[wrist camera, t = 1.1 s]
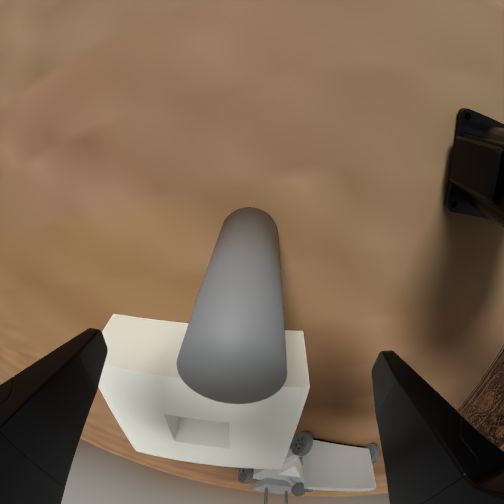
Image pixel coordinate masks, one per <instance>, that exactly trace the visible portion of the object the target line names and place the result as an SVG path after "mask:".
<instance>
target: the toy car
mask: <svg viewBox="0 0 504 504" xmlns="http://www.w3.org/2000/svg"><path fill="white" fill-rule="evenodd" d="M378 456H379V447H378V445H377V444H375V443H370V444H369V445H367V446H366V447H364V448H360V447H353V446H346V445H340V444H333V443H328V442H322V441H317V440H313V436H312V434H311V433H310V432H307V431H303V432H301V433H300V434H299V435H297V436H295V437H294V438H293V439H292V442H291V449H289V450H288V453H287V455H286V458H285V461H284V463H283V466H282V468H281V469H254V468H241V469H240V471H239V475H238V479H239V481H240V482H241V483H245V484H247V483H249V482H250V481H251V480H252V478H253V479H258V480H259V481H257V482H255V483H252V484H251V490H257V491H263V492H265V497H264V504H267V494H268V492H270V493H278V494H285V504H288V499H287V498H288V493H291V492H292V493H293V494H294V495H295V496H300V495H303V494H304V493H305V492H311V491H313V490H326V491H371V490H374V489H376V482H375V477H374V471H373V466H372V463H374V462H375V461H376V460H377V458H378Z"/></svg>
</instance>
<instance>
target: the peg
mask: <svg viewBox="0 0 504 504" xmlns="http://www.w3.org/2000/svg"><path fill="white" fill-rule="evenodd" d="M177 370H178V373H179V375H180V377H181V379H182V380H183V382H184V383H185V384H186V385H187V386H188V387H189V388H191V389H192V390H193V391H195V392H196V393H198V394H200V395H202V396H204V397H206V398H208V399H211V400H214V401H218V402H222V403H229V404H248V403H254V402H258V401H262V400H264V399H267V398H269V397H271V396H273V395H274V394H275V393H277V392H278V391H279V390H280V389H281V388H282V387H283V385H284V383H285V381H286V378H287V359H286V341H285V324H284V309H283V294H282V280H281V267H280V254H279V241H278V230H277V226H276V224H275V222H274V220H273V219H272V217H271V216H270V215H269V214H267V213H266V212H264V211H262V210H260V209H257V208H251V207H247V208H241V209H238V210H236V211H234V212H232V213H231V214H230V215H229V216H228V217H227V218H226V220H225V221H224V223H223V226H222V229H221V231H220V234H219V237H218V240H217V243H216V245H215V248H214V251H213V254H212V257H211V259H210V262H209V265H208V268H207V271H206V274H205V276H204V279H203V282H202V285H201V288H200V291H199V294H198V297H197V300H196V303H195V306H194V309H193V312H192V315H191V318H190V321H189V324H188V327H187V330H186V333H185V336H184V339H183V342H182V345H181V348H180V352H179V355H178V358H177Z"/></svg>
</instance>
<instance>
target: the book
mask: <svg viewBox="0 0 504 504" xmlns="http://www.w3.org/2000/svg"><path fill="white" fill-rule="evenodd" d="M458 413H460V415H461V416H463V417H464V418H465V419H466V420H467V421H468V422H469V423H470V424H471V425H472V426H473V427H474V428H475V429H477V430H478V431H479V432H480V433H481V434H482V435H484V436H485V437H486V438H487V439H488V440H490V441H491V442H492V443H493V444H495V445H496V446H497V447H499V448H500V449H501V450H502V451H504V347H503V348H502V350H501V352H500V353H499V355H498V356H497V358H496V360H495V361H494V363H493V364H492V366H491V367H490V369H489V370H488V372H487V373H486V375H485V376H484V377H483V379H482V380H481V382H480V383H479V384H478V386H477V387H476V388H475V390H474V391H473V392H472V394H471V395H470V396H469V398H468V399H467V400H466V401H465V403H464V404H463V405H462V407H461V408H460V409H459V411H458Z"/></svg>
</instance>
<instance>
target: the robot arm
mask: <svg viewBox="0 0 504 504" xmlns="http://www.w3.org/2000/svg"><path fill="white" fill-rule="evenodd" d="M465 113H466V115H467V119H465ZM453 200H454V203H453V205H451V202H452V201H453ZM444 204H445V207H446V208H447V209H448V210H450V211H452V212H457V213H462V214H468V215H474V216H479V217H484V218H489V219H493V220H494V221H496V222H497V223H499V224H500V225H502V226H503V227H504V124H502V123H500V122H498V121H495V120H493V119H491V118H489V117H487V116H484V115H482V114H480V113H477V112H475V111H472V110H470V109H465V108H462V109H460V110H459V112H458V119H457V129H456V138H455V142H454V150H453V157H452V163H451V169H450V175H449V182H448V187H447V192H446V197H445V203H444ZM107 352H108V349H107V345H106V342H105V339H104V336H103V334H102V332H101V330H99V329H94V328H89V329H87V330H86V331H84V332H82V333H81V334H79V335H78V336H76V337H74V338H73V339H71V340H70V341H68V342H66V343H65V344H63V345H62V346H60V347H59V348H57V349H55V350H54V351H52V352H51V353H49V354H48V355H46V356H45V357H43V358H41V359H40V360H38V361H37V362H35V363H34V364H32V365H31V366H29V367H27V368H26V369H24V370H23V371H21V372H20V373H18V374H17V375H15V376H14V377H12V378H11V379H9V380H7V381H6V382H4V383H3V384H1V385H0V504H61V501H62V497H63V493H64V489H65V485H66V481H67V478H68V474H69V471H70V468H71V464H72V461H73V458H74V455H75V451H76V448H77V445H78V442H79V439H80V436H81V433H82V430H83V428H84V425H85V422H86V419H87V416H88V413H89V411H90V408H91V405H92V403H93V400H94V397H95V395H96V392H97V389H98V385H99V382H100V378H101V374H102V370H103V367H104V363H105V360H106V356H107ZM372 380H373V390H374V401H375V412H376V419H377V424H378V429H379V435H380V440H381V446H382V452H383V458H384V464H385V471H386V478H387V485H388V493H389V501H390V504H504V451H502V450H501V449H500V448H499V447H497V446H496V445H495V444H493V443H492V442H491V441H490V440H488V439H487V438H486V437H485V436H484V435H482V434H481V433H480V432H479V431H478V430H477V429H475V428H474V427H473V426H472V425H471V424H470V423H469V422H468V421H467V420H466V419H465V418H464V417H463V416H461V415H460V413H458V412H457V411H456V410H455V409H454V408H453V407H452V406H451V405H450V404H449V403H448V402H447V401H446V400H445V399H444V398H443V397H442V396H441V395H440V394H439V393H438V392H436V391H435V390H434V389H433V388H432V387H431V386H430V385H429V384H428V383H427V382H426V381H425V380H424V379H423V378H422V377H421V376H419V375H418V374H417V373H416V372H415V371H414V370H413V369H412V368H411V367H410V366H409V365H408V364H407V363H406V362H404V361H403V360H402V359H401V358H400V357H399V356H398V355H397V354H396V353H395V352H393V351H381V352H380V353H379V355H378V357H377V359H376V362H375V364H374V366H373V369H372Z"/></svg>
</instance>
